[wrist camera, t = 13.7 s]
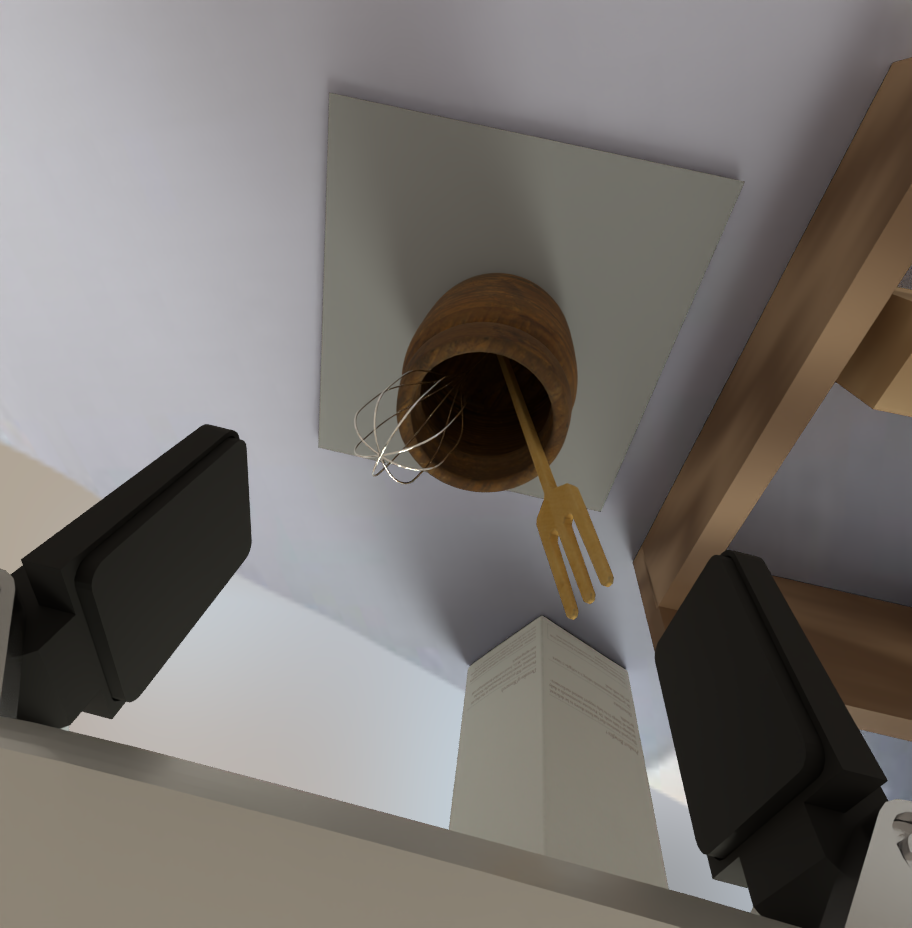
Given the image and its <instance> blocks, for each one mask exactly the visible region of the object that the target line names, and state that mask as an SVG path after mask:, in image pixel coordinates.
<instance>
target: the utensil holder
mask: <svg viewBox="0 0 912 928" xmlns="http://www.w3.org/2000/svg"><path fill="white" fill-rule="evenodd" d="M399 379H401V381H400V385H398V386H395V387H391V386H392V385H393V384H394V383H396V382H397V381H398V380H399ZM577 385H578V372H577V362H576V356H575V350H574V346H573V341H572V337H571V333H570V329H569V326H568V323H567V321H566V319H565V316H564V314H563V312H562V311H561V309H560V307H559V306H558V304H557V303H556V302H555V301H554V299H553V298H552V297H551V296H550V295H549V294H548V293H547V292H546V291H545V290H544V289H542V288H541V287H540V286H538V285H537V284H535V283H533V282H532V281H530V280H527V279H525V278H523V277H520V276H516V275H512V274H506V273H488V274H482V275H477V276H474V277H471V278H469V279H466V280H464V281H462V282H460V283H458V284H457V285H455V286H454V287H452V288H451V289H450V290H448V291H447V292H446V293H445V294H444V295H443V296H442V297H441V298H440V299H439V300H438V301H437V302H436V303H435V305H434V306H433V307H432V308H431V310H430V311H429V313H428V314H427V315H426V317H425V318H424V320H423V321H422V323H421V324H420V326H419V327H418V329H417V331H416V332H415V334H414V336H413V338H412V340H411V342H410V344H409V347H408V349H407V352H406V355H405V358H404V362H403V368H402V376H400V377H399V378H397V379H396V380H395V381H394V382H392V383H391V384H390V385H389V386H388V387H386V388H385V390H384V391H382V392H380V393H379V394H377V395H376V396H374V397H373V398H372V399H371V400H369V401H368V402H367V403H366V404H365V405H363V406H362V407H361V408H360V409H359V410H358V411H357V413H356V415H355V418H354V426H355V430H356V432H357V434H358V436H359V438H360V439H361V441H360V442H359V443H358V444H357V445H356V446H355V448H354V453H355V455H357V456H359V457H363V458H372V457H378V459H377V461H376V463H375V466H374V468H373V471H372V476H373V477H376V476H378V475H379V474H380V473H381V472H382V471H384V470H385V469H386V471H387V473H388V474H389V475H390V477H391V478H392V479H393V480H395V481H396V482H398V483H400V484H410V483H412V482H414V481H415V480H416V479H417V478H418V477H419V476H420V475H421V473H422V472H423V471H424V470H425V471H427V472H428V473H429V474H430V475H432V476H433V477H435V478H437V479H438V480H440V481H442V482H444V483H446V484H448V485H450V486H453V487H456V488H459V489H463V490H468V491H474V492H498V491H504V490H508V489H512V488H515V487H518V486H521V485H523V484H525V483H527V482H529V481H531V480H532V479H534V478H536V477H537V476H538V477H539V480H540V483H541V486H542V489H543V492H544V501H543V504H542V506H541V509H540V512H539V514H538V517H537V523H536V525H537V528H538V531H539V535H540V538H541V541H542V544H543V547H544V550H545V553H546V556H547V559H548V562H549V565H550V568H551V571H552V574H553V577H554V580H555V583H556V586H557V589H558V592H559V595H560V598H561V601H562V604H563V607H564V610H565V613H566V616H567V617H568V618H569V619H572V620H574V619H575V618H576V617H577V616H578V607H577V604H576V601H575V598H574V594H573V591H572V588H571V584H570V581H569V578H568V575H567V571H566V568H565V565H564V562H563V558H562V555H561V552H560V548H559V545H558V536H559V537H560V539H561V542H562V545H563V548H564V550H565V553H566V556H567V558H568V561H569V564H570V566H571V569H572V572H573V574H574V577H575V580H576V582H577V585H578V588H579V590H580V593H581V596H582V598H583V601H584V602H586V603H588V604H591V603H592V602H593V601H594V600H595V596H596V594H595V591H594V589H593V586H592V583H591V580H590V577H589V574H588V571H587V568H586V566H585V563H584V560H583V557H582V554H581V551H580V548H579V545H578V543H577V540H576V537H575V534H574V531H573V528H572V521H573V519H574V521H575V523H576V526H577V528H578V530H579V533H580V535H581V537H582V540H583V542H584V545H585V547H586V549H587V552H588V554H589V557H590V559H591V561H592V564H593V566H594V568H595V571H596V573H597V576H598V578H599V580H600V583H601V585H603V586H606V587H609V586H611V585H612V584H613V579H614V577H613V574H612V572H611V569H610V567H609V564H608V562H607V559H606V557H605V554H604V551H603V549H602V546H601V544H600V541H599V539H598V536H597V534H596V531H595V529H594V526H593V524H592V521H591V519H590V516H589V514H588V511H587V509H586V506H585V504H584V501H583V499H582V496H581V494H580V492H579V489H578V488H577V487H576V486H573V485H571V484H568V483H566V484H564V485H561V486H559V487H557V485H556V482H555V480H554V477H553V474H552V472H551V469H550V467H549V466H550V465H551V463H552V462H553V461H554V460H555V458H556V457H557V455H558V454H559V452H560V450H561V448H562V446H563V444H564V442H565V439H566V436H567V433H568V429H569V425H570V421H571V414H572V409H573V406H574V403H575V399H576V394H577ZM390 387H391V388H390ZM397 387H399V389H398V396H397V406H396V413H395V414H394V415H392V416H391V417H389V418H388V419H386V420H385V421H383V422H382V423H381V424H379V425H378V426H377V427H376V413H377V408H378V404H379V401H380V399H381V397H382V395H383V394H384V392H386V391H388V390H391V389H394V388H397ZM388 388H389V389H388ZM379 395H380V396H379ZM378 396H379V398H378V401H377V404H376V407H375V412H374V429H373V430H372V431H371V432H370V433H369V434H367V435H366V436H365V437H364V438H362V437H361V435H360V434H359V432H358V429H357V425H356V419H357V415H358V413H359V412H360V411H361V410H362V409H363V408H364V407H365V406H366V405H368V404H369V403H370V402H371V401H372V400H374V399H375V398H376V397H378ZM395 415H396V416H397V424H398V426H397V427H396V428H395V430H394V431H393V433H392V435H391V436H390V438H389V439H388V441H387V443H386V444H385V446H384V448H383V450H382V451H381V452H380V449H379V445H378V441H377V435H376V429H377V428H378V427H380V426H381V425H382V424H383V423H385V422H386V421H388V420H389V419H390V418H392V417H394V416H395ZM398 428H399V432H400V435H401V438H402V440H403V442H404V444H405V446H404V448H403V449H402V450H399V451H395V452H391V453H386V454H383V452H384V450H385V449H386V447H387V445H388V443H389V442H390V440H391V439H392V437H393V435H394V434H395V432H396V431H397V429H398ZM372 432H374V436H375V442H376V446H377V450H378V452H377V451H375V450H374V449H373V448H372V447H370V446H369V445H368V444H367V443H366V442H365V441H364V440H365V439H366V438H367V437H368V436H369V435H370V434H371V433H372ZM361 442H363V443H364V444H365V445H366V446H367V447H368V448H369V449H371V450H372V451H373V452H374V453H376V454H377V455H371V456H364V455H359V454H357V453H356V448H357V447H358V445H359V444H360V443H361ZM405 448H406V449H405ZM407 450H408V451H409V453H410V454H411V456H412V457H413V458H414V460H415V461H416V462H417V463H418V464H419V465H420V466H421V467H422V468H421V469H420V468H411V467H406V466H403V465H400V464H398V463H395V462H393V460H394V459H395V458H396V457H397V456H398V455H399V454H400V453H401V452H403V451H407ZM396 453H398V454H397V455H396V456H395V457H394V458H393V459H392V460H389V459H387V458H386V457H384V456H387V455H392V454H396ZM380 455H381V456H380ZM380 458H381V461H382V463H383V465H384V468H383V469H382V470H381V471H380V472H379V473H377V474H376V475H374V472H375V469H376V466H377V464H378V462H379V460H380ZM383 459H385V460H387V461H388V462H389V463H388V464H387V465H385V463H384V460H383ZM391 463H392V464H394V465H397V466H399V467H402V468H406V469H410V470H419V471H421V472H420V473H419V474H418V475H417V476H416V477H415V478H414V479H413V480H412V481H410V482H400V481H398V480H397V479H395V478H394V477H393V476H392V475H391V473H390V472H389V470H388V469H387V467H388V466H389V465H390V464H391Z"/></svg>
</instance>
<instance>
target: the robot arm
mask: <svg viewBox="0 0 912 928" xmlns="http://www.w3.org/2000/svg"><path fill="white" fill-rule="evenodd" d="M251 542H252V539H251V521H250V502H249V484H248V466H247V448H246V443H245V441H243V440H240V439H239V435H238V433H237V432H235V431H234V430H229V429H225V428H221V427H217V426H213V425H209V424H205V425H203V426H201V427H199V428H198V429H197V430H195V431H194V432H193V433H191V434H190V435H189V436H187V437H186V438H185V439H183V440H182V441H180V442H179V443H178V444H176V445H175V446H174V447H172V448H171V449H170V450H168V451H167V452H166V453H164V454H163V455H162V456H160V457H159V458H157V459H156V460H155V461H153V462H152V463H151V464H149V465H148V466H147V467H145V468H144V469H143V470H141V471H140V472H139V473H137V474H136V475H135V476H133V477H132V478H130V479H129V480H128V481H126V482H125V483H124V484H122V485H121V486H120V487H118V488H117V489H116V490H114V491H113V492H112V493H110V494H109V495H107V496H106V497H105V498H103V499H102V500H101V501H99V502H98V503H97V504H95V505H94V506H93V507H91V508H90V509H89V510H87V511H86V512H85V513H83V514H82V515H80V516H79V517H78V518H77V519H75V520H74V521H72V522H71V523H70V524H68V525H67V526H66V527H64V528H63V529H62V530H60V531H59V532H57V533H56V534H55V535H54V536H52V537H51V538H49V539H48V540H47V541H46V542H44V543H43V544H41V545H40V546H39V547H37V548H36V549H35V550H33V551H32V552H31V553H29V554H28V555H27V556H25V557H24V558H23V559H21V561H22V563H23V566H21V567H20V568H19V569H17V570H16V571H15V572H13V573H12V574H11V575H10V574H9V573H8V572H7V571H6V570H3V569H0V928H912V801H907V800H901V799H895V800H891V801H888V799H887V797H886V796H885V794H884V792H883V790H882V788H881V786H882V785H883V784H884V783H885V782H887V781H888V780H887V778H886V777H885V775H884V773H883V771H882V770H881V768H880V766H879V764H878V762H877V761H876V759H875V757H874V755H873V754H872V752H871V750H870V748H869V747H868V745H867V743H866V741H865V739H864V738H863V736H862V734H861V732H860V731H859V729H858V727H857V725H856V724H855V722H854V720H853V718H852V716H851V715H850V713H849V711H848V709H847V708H846V706H845V704H844V702H843V701H842V699H841V697H840V695H839V693H838V692H837V690H836V688H835V686H834V685H833V683H832V681H831V679H830V678H829V676H828V674H827V672H826V670H825V669H824V667H823V665H822V663H821V662H820V660H819V658H818V656H817V655H816V653H815V651H814V649H813V647H812V646H811V644H810V642H809V640H808V639H807V637H806V635H805V633H804V632H803V630H802V628H801V626H800V624H799V623H798V621H797V619H796V617H795V616H794V614H793V612H792V610H791V609H790V607H789V605H788V603H787V601H786V600H785V598H784V596H783V594H782V593H781V591H780V589H779V587H778V586H777V584H776V582H775V580H774V578H773V577H772V575H771V573H770V571H769V570H768V568H767V566H766V564H765V563H764V561H763V560H762V559H761V558H759V557H757V556H753V555H749V554H744V553H740V552H736V551H732V550H725V551H724V552H722V553H721V554H720V555H713V556H712V557H711V558H710V559H709V561H708V562H707V564H706V566H705V567H704V569H703V570H702V572H701V574H700V575H699V577H698V578H697V580H696V582H695V583H694V585H693V587H692V588H691V590H690V591H689V593H688V595H687V596H686V598H685V599H684V601H683V603H682V604H681V606H680V607H679V609H678V611H677V612H676V614H675V616H674V617H673V619H672V620H671V622H670V624H669V625H668V627H667V628H666V630H665V632H664V633H663V635H662V636H661V638H660V640H659V641H658V643H657V646H656V649H655V663H656V667H657V672H658V676H659V681H660V685H661V689H662V694H663V698H664V703H665V707H666V711H667V716H668V720H669V725H670V729H671V733H672V738H673V742H674V747H675V751H676V755H677V760H678V764H679V769H680V773H681V777H682V782H683V786H684V791H685V795H686V799H687V804H688V808H689V813H690V817H691V821H692V825H693V830H694V835H695V839H696V842H697V845H698V847H699V849H700V851H701V852H702V853H703V854H706V855H707V857H708V861H709V865H710V869H711V874H712V878H713V879H715V880H718V881H722V882H726V883H730V884H734V885H738V886H742V887H745V888H747V887H748V889H749V893H750V896H751V900H752V903H753V909H752V911H751V913H749V912H746V911H742V910H739V909H735V908H732V907H728V906H725V905H722V904H718V903H715V902H712V901H708V900H705V899H701V898H698V897H694V896H691V895H687V894H684V893H680V892H676V891H672V890H669V889H665V888H662V887H658V886H654V885H651V884H647V883H643V882H640V881H636V880H632V879H629V878H625V877H621V876H618V875H614V874H610V873H607V872H603V871H599V870H596V869H592V868H588V867H585V866H581V865H577V864H574V863H570V862H566V861H563V860H559V859H555V858H552V857H548V856H544V855H541V854H537V853H533V852H530V851H526V850H522V849H519V848H515V847H511V846H508V845H504V844H500V843H496V842H493V841H489V840H485V839H481V838H478V837H474V836H470V835H467V834H463V833H459V832H455V831H452V830H448V829H444V828H440V827H436V826H432V825H429V824H425V823H422V822H418V821H414V820H410V819H407V818H403V817H399V816H396V815H392V814H388V813H384V812H381V811H377V810H373V809H369V808H365V807H362V806H358V805H354V804H350V803H346V802H343V801H339V800H336V799H332V798H328V797H324V796H320V795H316V794H313V793H309V792H305V791H301V790H298V789H294V788H290V787H286V786H283V785H279V784H275V783H271V782H267V781H263V780H260V779H256V778H252V777H248V776H244V775H240V774H237V773H233V772H229V771H225V770H221V769H217V768H213V767H209V766H206V765H202V764H198V763H195V762H191V761H187V760H183V759H179V758H175V757H171V756H168V755H164V754H160V753H156V752H153V751H149V750H145V749H141V748H137V747H133V746H129V745H124V744H120V743H116V742H112V741H108V740H104V739H100V738H96V737H91V736H87V735H83V734H79V733H74V732H71V731H69V725H71V723H72V722H73V721H74V720H75V719H76V718H77V716H78V715H79V714H80V713H81V712H82V711H83V712H86V713H90V714H94V715H97V716H101V717H105V718H109V719H113V717H114V716H115V715H116V714H117V712H118V711H119V710H120V709H121V707H122V706H123V705H124V704H125V702H132V701H134V700H136V699H137V698H138V697H139V696H140V695H141V694H142V693H143V691H144V690H145V689H146V687H147V686H148V685H149V684H150V682H151V681H152V680H153V678H154V677H155V676H156V674H157V673H158V672H159V671H160V669H161V668H162V667H163V665H164V664H165V663H166V662H167V660H168V659H169V658H170V656H171V655H172V654H173V652H174V651H175V650H176V649H177V647H178V646H179V645H180V643H181V642H182V641H183V640H184V638H185V637H186V635H187V634H188V633H189V632H190V630H191V629H192V628H193V627H194V625H195V624H196V623H197V621H198V620H199V619H200V617H201V616H202V615H203V614H204V612H205V611H206V610H207V608H208V607H209V606H210V605H211V603H212V602H213V601H214V599H215V598H216V597H217V595H218V594H219V593H220V592H221V590H222V589H223V588H224V586H225V585H226V584H227V583H228V581H229V580H230V578H231V577H232V576H233V575H234V573H235V572H236V571H237V570H238V568H239V567H240V566H241V564H242V563H243V562H244V560H245V559H246V558H247V556H248V554H249V551H250V548H251Z"/></svg>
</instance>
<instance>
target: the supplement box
mask: <svg viewBox="0 0 912 928" xmlns="http://www.w3.org/2000/svg"><path fill="white" fill-rule="evenodd" d="M449 830H452V831H455V832H459V833H463V834H467V835H470V836H474V837H478V838H481V839H485V840H489V841H493V842H496V843H500V844H504V845H508V846H511V847H515V848H519V849H522V850H526V851H530V852H533V853H537V854H541V855H544V856H548V857H552V858H555V859H559V860H563V861H566V862H570V863H574V864H577V865H581V866H585V867H588V868H592V869H596V870H599V871H603V872H607V873H610V874H614V875H618V876H621V877H625V878H629V879H632V880H636V881H640V882H643V883H647V884H651V885H654V886H658V887H662V888H665V889H669V888H668V883H667V878H666V873H665V867H664V862H663V857H662V851H661V846H660V841H659V836H658V831H657V825H656V819H655V814H654V809H653V804H652V798H651V794H650V787H649V782H648V777H647V772H646V767H645V761H644V756H643V751H642V746H641V740H640V735H639V730H638V724H637V719H636V714H635V708H634V702H633V697H632V692H631V687H630V682H629V676H628V671H627V670H625V669H624V668H622V667H621V666H619V665H617V664H616V663H614V662H613V661H611V660H610V659H608V658H606V657H605V656H603V655H602V654H600V653H599V652H597V651H596V650H594V649H593V648H591V647H590V646H588V645H586V644H585V643H583V642H582V641H580V640H579V639H577V638H576V637H574V636H573V635H571V634H570V633H568V632H567V631H565V630H564V629H562V628H561V627H559V626H557V625H556V624H554V623H553V622H551V621H550V620H548V619H547V618H545V617H544V616H540V617H539V618H537V619H535V620H534V621H533V622H531V623H530V624H528V625H527V626H525V627H524V628H523V629H521V630H520V631H518V632H517V633H516V634H514V635H512V636H511V637H510V638H508V639H507V640H506V641H504V642H503V643H501V644H500V645H498V646H497V647H495V648H494V649H493V650H491V651H490V652H488V653H487V654H486V655H484V656H483V657H482V658H480V659H478V660H477V661H476V662H475V663H473V664H472V665H471V666H470V667H469V668H468V673H467V682H466V691H465V699H464V707H463V715H462V724H461V733H460V741H459V749H458V757H457V767H456V775H455V782H454V790H453V798H452V808H451V815H450V825H449Z"/></svg>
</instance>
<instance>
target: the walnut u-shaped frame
mask: <svg viewBox="0 0 912 928" xmlns="http://www.w3.org/2000/svg"><path fill="white" fill-rule="evenodd" d="M911 264H912V57H911V58H908V59H904V60H900V61H897V62H893V63H892V65H891V67H890V69H889V71H888V73H887V75H886V77H885V79H884V80H883V82H882V84H881V86H880V88H879V90H878V92H877V94H876V96H875V98H874V100H873V102H872V104H871V105H870V107H869V109H868V111H867V113H866V115H865V117H864V119H863V121H862V123H861V125H860V127H859V129H858V130H857V132H856V134H855V136H854V138H853V140H852V142H851V144H850V146H849V148H848V150H847V152H846V154H845V155H844V157H843V159H842V161H841V163H840V165H839V167H838V169H837V171H836V173H835V175H834V177H833V179H832V180H831V182H830V184H829V186H828V188H827V190H826V192H825V194H824V196H823V198H822V200H821V202H820V204H819V205H818V207H817V209H816V211H815V213H814V215H813V217H812V219H811V221H810V223H809V225H808V227H807V229H806V230H805V232H804V234H803V236H802V238H801V240H800V242H799V244H798V246H797V248H796V250H795V252H794V254H793V255H792V257H791V259H790V261H789V263H788V265H787V267H786V269H785V271H784V273H783V275H782V277H781V279H780V280H779V282H778V284H777V286H776V288H775V290H774V292H773V294H772V296H771V298H770V300H769V302H768V304H767V305H766V307H765V309H764V311H763V313H762V315H761V317H760V319H759V321H758V323H757V325H756V327H755V329H754V330H753V332H752V334H751V336H750V338H749V340H748V342H747V344H746V346H745V348H744V350H743V352H742V354H741V355H740V357H739V359H738V361H737V363H736V365H735V367H734V369H733V371H732V373H731V375H730V377H729V379H728V380H727V382H726V384H725V386H724V388H723V390H722V392H721V394H720V396H719V398H718V400H717V402H716V404H715V405H714V407H713V409H712V411H711V413H710V415H709V417H708V419H707V421H706V423H705V425H704V427H703V429H702V430H701V432H700V434H699V436H698V438H697V440H696V442H695V444H694V446H693V448H692V450H691V452H690V454H689V455H688V457H687V459H686V461H685V463H684V465H683V467H682V469H681V471H680V473H679V475H678V477H677V479H676V480H675V482H674V484H673V486H672V488H671V490H670V492H669V494H668V496H667V498H666V500H665V502H664V504H663V505H662V507H661V509H660V511H659V513H658V515H657V517H656V519H655V521H654V523H653V525H652V527H651V529H650V530H649V532H648V534H647V536H646V538H645V540H644V542H643V544H642V546H641V548H640V550H639V552H638V554H637V555H636V557H635V559H634V561H633V565H634V569H635V573H636V577H637V581H638V585H639V589H640V594H641V598H642V602H643V606H644V610H645V614H646V618H647V622H648V626H649V630H650V634H651V638H652V643H653V647H654V651H655V649H656V646H657V643H658V641H659V640H660V638H661V636H662V635H663V633H664V632H665V630H666V628H667V627H668V625H669V624H670V622H671V620H672V619H673V617H674V616H675V614H676V612H677V611H678V609H679V607H680V606H681V604H682V603H683V601H684V599H685V598H686V596H687V595H688V593H689V591H690V590H691V588H692V587H693V585H694V583H695V582H696V580H697V578H698V577H699V575H700V574H701V572H702V570H703V569H704V567H705V566H706V564H707V562H708V561H709V559H710V558H711V557H712V556H713V555H720V554H721V553H722V552H724V551H725V550H726V549H727V547H728V546H729V544H730V543H731V541H732V540H733V538H734V536H735V535H736V533H737V532H738V530H739V529H740V527H741V526H742V524H743V523H744V521H745V520H746V518H747V516H748V515H749V513H750V512H751V510H752V509H753V507H754V506H755V504H756V503H757V501H758V500H759V498H760V496H761V495H762V493H763V492H764V490H765V489H766V487H767V486H768V484H769V483H770V481H771V480H772V478H773V476H774V475H775V473H776V472H777V470H778V469H779V467H780V466H781V464H782V463H783V461H784V460H785V458H786V456H787V455H788V453H789V452H790V450H791V449H792V447H793V446H794V444H795V443H796V441H797V440H798V438H799V437H800V435H801V433H802V432H803V430H804V429H805V427H806V426H807V424H808V423H809V421H810V420H811V418H812V417H813V415H814V413H815V412H816V410H817V409H818V407H819V406H820V404H821V403H822V401H823V400H824V398H825V397H826V395H827V393H828V392H829V390H830V389H831V387H832V386H833V384H834V383H835V381H836V380H837V378H838V377H839V375H840V373H841V372H842V370H843V369H844V367H845V366H846V364H847V363H848V361H849V360H850V358H851V357H852V355H853V353H854V352H855V350H856V349H857V347H858V346H859V344H860V343H861V341H862V340H863V338H864V337H865V335H866V333H867V332H868V330H869V329H870V327H871V326H872V324H873V323H874V321H875V320H876V318H877V317H878V315H879V313H880V312H881V310H882V309H883V307H884V306H885V304H886V303H887V301H888V300H889V298H890V297H891V295H892V294H893V292H894V290H895V289H896V287H897V286H898V284H899V283H900V281H901V280H902V278H903V277H904V275H905V274H906V272H907V270H908V269H909V267H910V266H911ZM772 577H773V578H774V580H775V582H776V584H777V586H778V587H779V589H780V591H781V593H782V594H783V596H784V598H785V600H786V601H787V603H788V605H789V607H790V609H791V610H792V612H793V614H794V616H795V617H796V619H797V621H798V623H799V624H800V626H801V628H802V630H803V632H804V633H805V635H806V637H807V639H808V640H809V642H810V644H811V646H812V647H813V649H814V651H815V653H816V655H817V656H818V658H819V660H820V662H821V663H822V665H823V667H824V669H825V670H826V672H827V674H828V676H829V678H830V679H831V681H832V683H833V685H834V686H835V688H836V690H837V692H838V693H839V695H840V697H841V699H842V701H843V702H844V704H845V706H846V708H847V709H848V711H849V713H850V715H851V716H852V718H853V720H854V722H855V724H856V725H857V727H858V729H860V730H865V731H869V732H873V733H877V734H882V735H886V736H890V737H894V738H899V739H903V740H907V741H912V607H908V606H903V605H899V604H894V603H890V602H886V601H881V600H877V599H873V598H868V597H864V596H860V595H855V594H851V593H846V592H842V591H838V590H833V589H829V588H825V587H820V586H816V585H812V584H807V583H803V582H798V581H794V580H790V579H785V578H781V577H777V576H772Z"/></svg>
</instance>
